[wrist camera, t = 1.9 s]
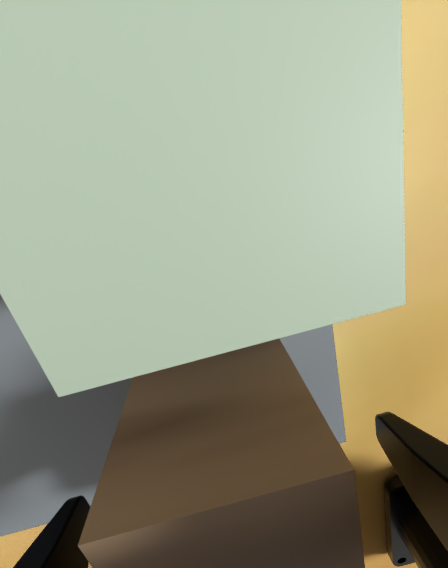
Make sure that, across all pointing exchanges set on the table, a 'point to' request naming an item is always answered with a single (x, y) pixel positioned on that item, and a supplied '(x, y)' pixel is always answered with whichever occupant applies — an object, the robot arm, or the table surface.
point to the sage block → (195, 176)
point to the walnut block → (224, 472)
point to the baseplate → (96, 424)
